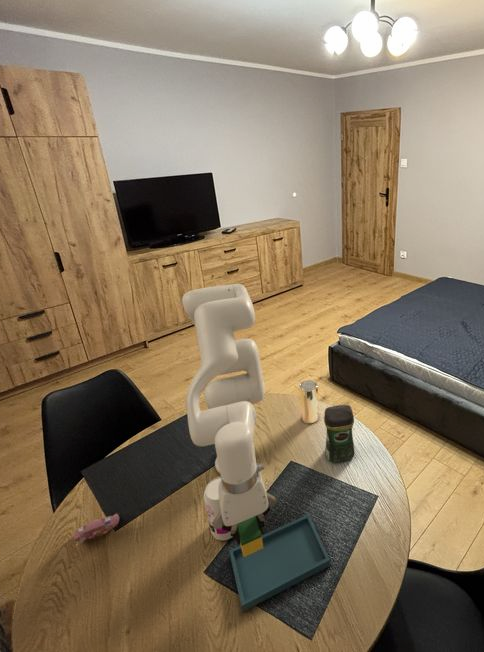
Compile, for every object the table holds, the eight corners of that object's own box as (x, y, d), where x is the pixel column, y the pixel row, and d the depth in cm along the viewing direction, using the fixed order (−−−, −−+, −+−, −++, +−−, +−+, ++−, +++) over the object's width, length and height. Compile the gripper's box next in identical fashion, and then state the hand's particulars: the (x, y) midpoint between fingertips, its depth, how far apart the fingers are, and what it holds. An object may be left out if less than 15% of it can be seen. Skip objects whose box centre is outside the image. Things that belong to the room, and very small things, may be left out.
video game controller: (79, 548, 97) (70, 542, 92) (78, 529, 99) (70, 523, 94) (121, 531, 101) (115, 525, 96) (120, 513, 103) (114, 507, 98)
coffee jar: (351, 443, 128) (351, 399, 120) (356, 460, 121) (356, 415, 113) (323, 447, 126) (322, 403, 119) (327, 465, 119) (326, 420, 112)
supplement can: (248, 518, 102) (241, 479, 96) (230, 546, 95) (223, 505, 89) (223, 509, 105) (215, 471, 99) (204, 536, 98) (195, 496, 92)
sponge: (236, 531, 89) (234, 518, 87) (255, 523, 91) (253, 509, 89) (243, 557, 83) (241, 543, 81) (263, 548, 85) (261, 534, 83)
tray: (230, 556, 93) (229, 550, 92) (309, 519, 102) (308, 514, 101) (242, 612, 82) (241, 606, 81) (330, 565, 90) (330, 559, 89)
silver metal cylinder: (316, 425, 136) (315, 392, 130) (298, 423, 137) (296, 390, 131) (321, 413, 142) (320, 380, 136) (304, 411, 144) (302, 378, 138)
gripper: (272, 451, 86) (278, 506, 93) (196, 478, 79) (209, 536, 86) (282, 474, 79) (288, 532, 86) (201, 506, 72) (214, 566, 79)
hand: (249, 533), depth 86 cm, fingers closed on sponge, 4 cm apart
